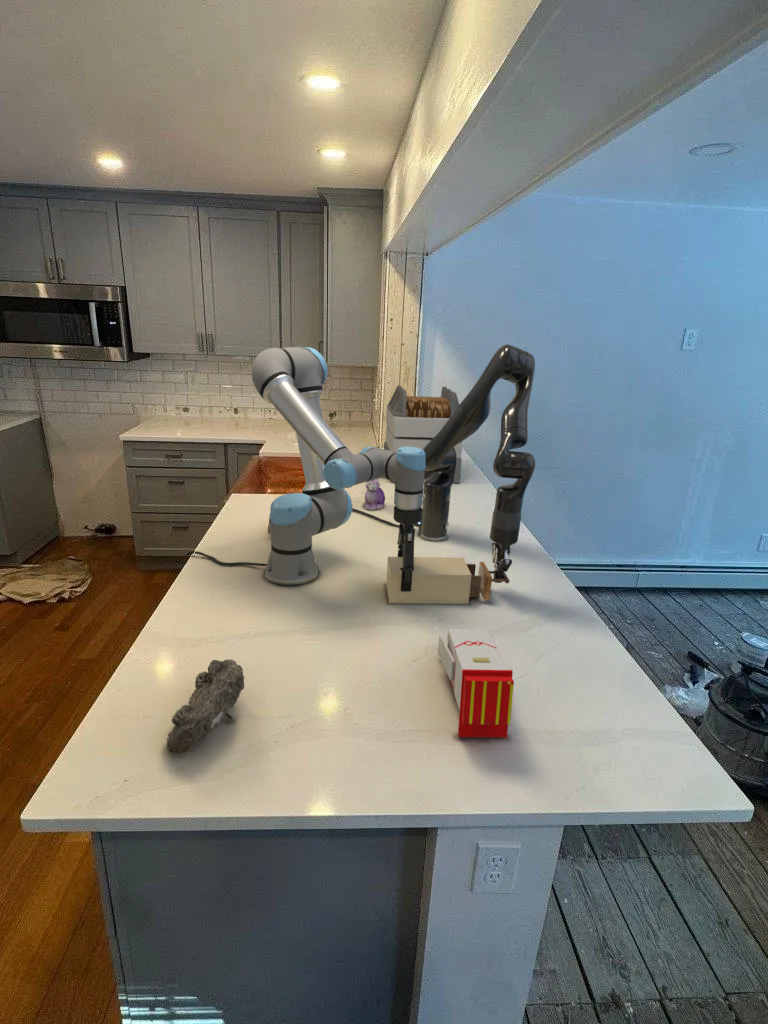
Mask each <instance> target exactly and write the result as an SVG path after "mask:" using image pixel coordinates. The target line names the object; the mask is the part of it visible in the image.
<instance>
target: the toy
mask: <svg viewBox="0 0 768 1024" xmlns="http://www.w3.org/2000/svg"><path fill="white" fill-rule="evenodd" d="M446 640H447V643H446V641H445V639H444V636H443V635H442V634H439V637H438V646H437V656H438V657H439V659H440V661H441V663H442V666H443V668H444V670H445V672H446V674H447V677H448V679H449V681H450V684H451V687H452V690H453V693H454V697H455V701H456V705H457V708H458V711H459V714H458V715H459V716H458V730H457V731H458V732H457V737H458V738H508V731H509V726H510V725H511V717H512V707H513V697H514V696H513V695H514V684H515V680H514V679H513V673H514V671H513V670H512V669H508V667H507V665H506V662H505V661H504V659H503V658H502V655H501V653H500V651H499V649H498V647H497V643H496V639H495V637H494V635H493V634H491V632H490V631H489V629H467V628H466V629H465V628H463V629H461V628H460V629H459V628H448V630H447V639H446Z"/></svg>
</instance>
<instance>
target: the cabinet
mask: <svg viewBox="0 0 768 1024" xmlns="http://www.w3.org/2000/svg"><path fill="white" fill-rule="evenodd" d="M386 564H387V565H386V567H387V568H386V590H387V596H388V603H389V604H433V605H434V604H435V605H436V604H437V605H438V604H441V605H443V604H444V605H445V604H447V605H448V604H449V605H452V604H453V605H455V604H457V605H468V604H469V601H470V597H469V594H470V584H471V573H470V571H469V569H468V566H467V564H468V563H466V560H465V558H464V557H447V556H446V557H442V556H441V557H438V556H435V557H434V556H414V571H412V585H411V592H401V577H402V570H400V568H403V557H398V556H387V563H386Z"/></svg>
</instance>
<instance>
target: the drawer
mask: <svg viewBox="0 0 768 1024" xmlns="http://www.w3.org/2000/svg"><path fill="white" fill-rule="evenodd" d="M466 564H467V566H468V569H469V571H470V573H471V584H470V594H469V598H480V596H481V595H480V594H482V596H483V599H484V600H485V601H489V600H490V599H491V591H492V583H495V582H501V583H504V584H509V583H510V581H511V580H510V578H509V577H508V575H507V574H506V573H507V572H504V573H503V579H493V576H492V574H493V575H494V570H489V569H488V567H487V565H486V563H485V562H484V561H479V565H478V572H477V573H478V574H477V575H476V568H477V567H476V566H477V564H476V563H466Z"/></svg>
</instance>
